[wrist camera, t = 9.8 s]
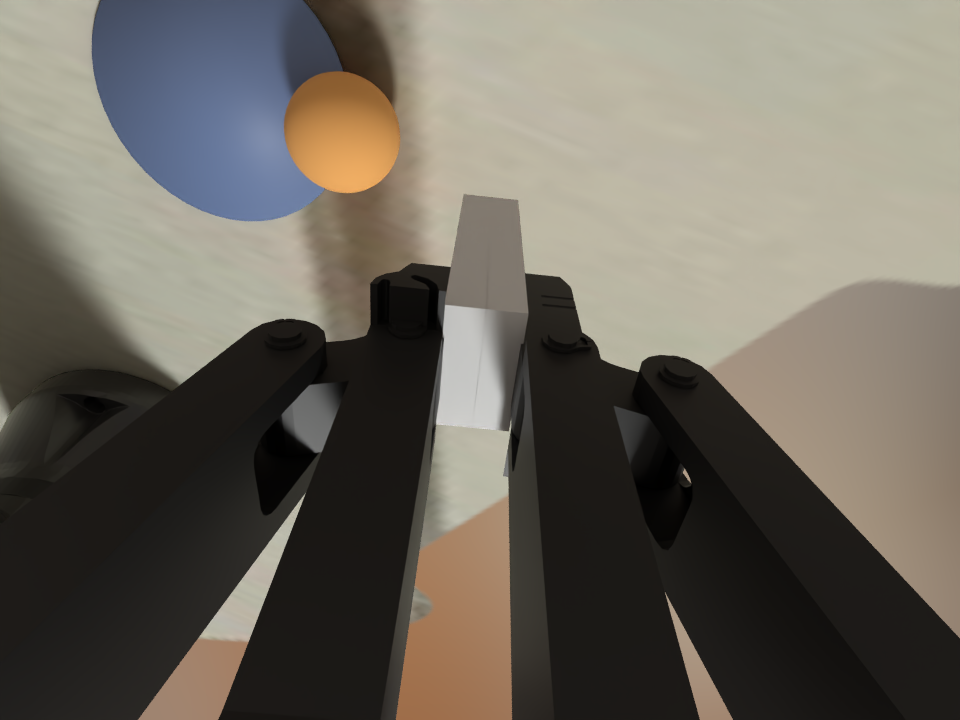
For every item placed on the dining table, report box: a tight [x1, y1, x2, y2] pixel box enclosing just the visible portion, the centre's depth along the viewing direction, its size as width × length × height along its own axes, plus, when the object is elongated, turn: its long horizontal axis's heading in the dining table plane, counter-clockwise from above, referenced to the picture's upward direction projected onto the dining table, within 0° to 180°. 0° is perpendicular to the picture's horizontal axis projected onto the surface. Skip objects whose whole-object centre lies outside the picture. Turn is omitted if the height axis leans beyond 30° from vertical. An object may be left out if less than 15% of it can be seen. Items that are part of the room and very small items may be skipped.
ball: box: [284, 71, 400, 193], centre depth 28 cm, size 6×6×6 cm
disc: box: [92, 0, 344, 221], centre depth 29 cm, size 13×13×1 cm
